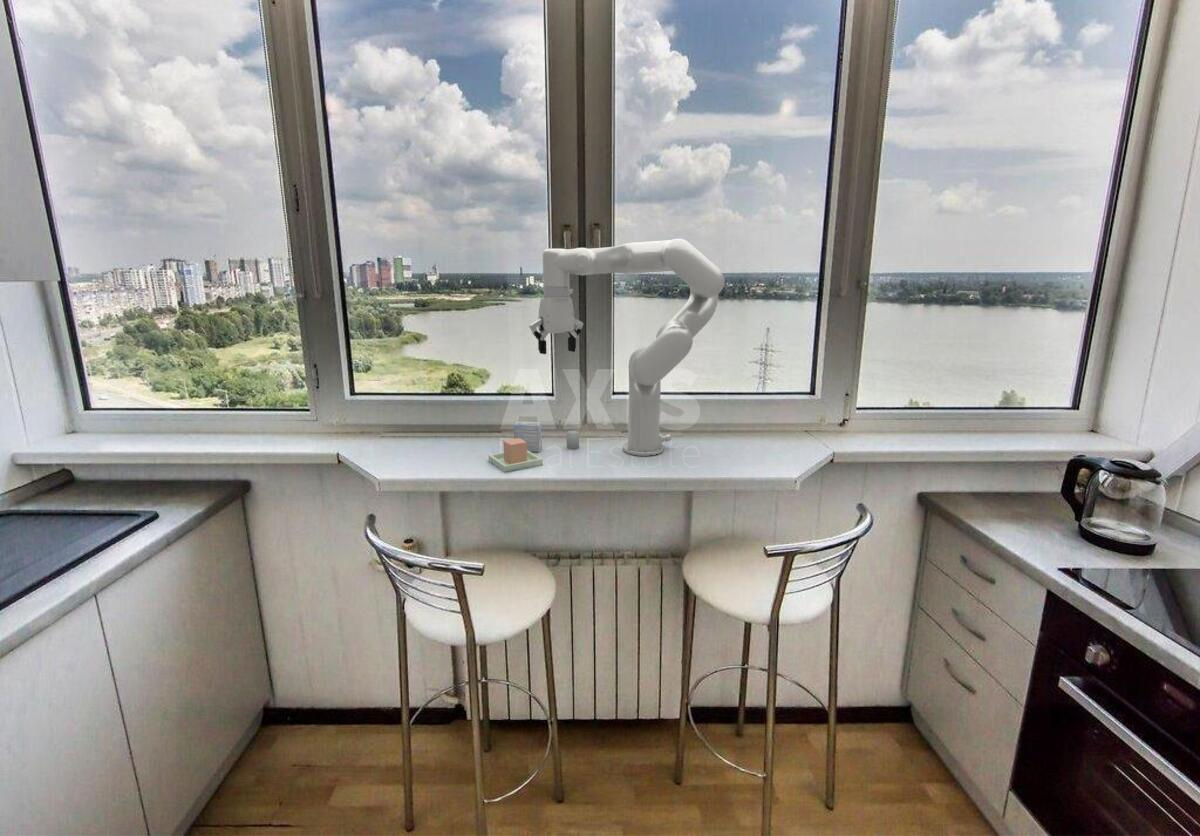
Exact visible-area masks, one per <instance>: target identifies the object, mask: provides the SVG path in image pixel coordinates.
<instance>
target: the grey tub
mask: <svg viewBox="0 0 1200 836" xmlns="http://www.w3.org/2000/svg"><path fill="white" fill-rule="evenodd" d="M565 433H566V435H565V436H566V449H567V450H578V449H580V431H578V430H567V431H566V432H565Z"/></svg>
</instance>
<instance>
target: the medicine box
mask: <svg viewBox="0 0 1200 836" xmlns="http://www.w3.org/2000/svg"><path fill="white" fill-rule="evenodd" d="M512 429H513V439H516V438H520V439H522V440H524V441H525V442H527V450H528V451H530V452H531V453H540V452H541V451H542V450H543V449H542V448H543V438H542V437H543V436H542V435H543V434H542V431H543V430H542V422H541V421H516V422H515V423H514V424H513V428H512Z"/></svg>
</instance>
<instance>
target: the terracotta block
mask: <svg viewBox="0 0 1200 836" xmlns="http://www.w3.org/2000/svg"><path fill="white" fill-rule="evenodd" d="M502 442H503V443H502V444H503V445H502V447H503V452H504V461H506V462H507V463H508V464H515V463H520V462H525V461H527V442H525V441H524V440H522V439H520V438H516V439H514V438H512V439H511V438H510V439H506V440H505V439H504V440H502Z"/></svg>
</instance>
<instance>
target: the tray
mask: <svg viewBox="0 0 1200 836" xmlns="http://www.w3.org/2000/svg"><path fill="white" fill-rule="evenodd" d="M488 462H489V463H491V464H493V465H494V466H495V467H496V468H497V469H499V470H500V471H502V472H503V471H504V472H503V473H505V472H506V473H510V472H515V471H520V470H525V469H531V468H536V467H541V466H543V465H544V464H543V463H544V462H543V458H542V457H540V456H538V455H537V454H535V453H534V452H530V451H528V450H527V461H525V462H520V463H515V464H508V463H507V462H506V461H504V451H503V452H498V453H493V454H488Z"/></svg>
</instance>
